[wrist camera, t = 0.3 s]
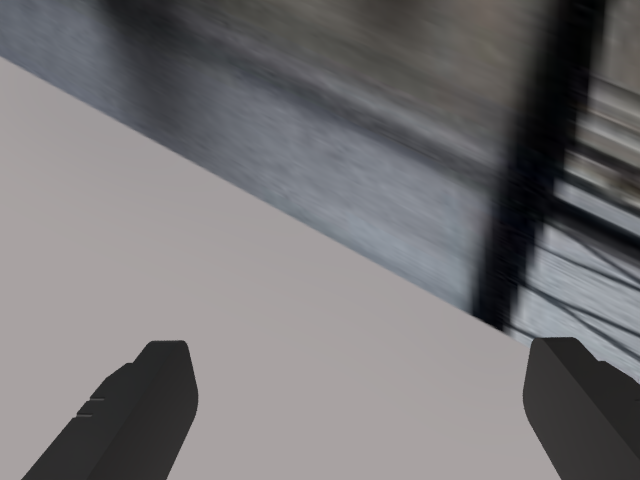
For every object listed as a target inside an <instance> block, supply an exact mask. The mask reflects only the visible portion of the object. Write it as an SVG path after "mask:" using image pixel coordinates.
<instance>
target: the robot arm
mask: <svg viewBox="0 0 640 480" xmlns="http://www.w3.org/2000/svg"><path fill="white" fill-rule="evenodd" d="M523 404H524V409H525V412H526V415H527V418H528V421H529V422H530V424H531V426H532V428H533V430H534V432H535V433H536V435H537V437H538V439H539V441H540V442H541V444H542V446H543V448H544V449H545V451H546V453H547V455H548V456H549V458H550V460H551V462H552V464H553V466H554V467H555V469H556V471H557V473H558V474H559V476H560V478H561V480H640V385H639V384H638V383H637V382H636V381H635V380H634V379H633V378H631V377H630V376H628V375H626V374H625V373H623V372H622V371H620V370H618V369H617V368H615V367H614V366H612V365H610V364H609V363H607V362H606V361H598V360H597V359H596V358H595V357H594V356H593V355H592V354H591V353H590V352H589V351H588V350H587V349H586V348H585V347H584V346H583V344H582V343H581V342H580V341H579V340H577V339H576V338H573V337H550V338H535V339H534V340H533V341H532V344H531V348H530V355H529V359H528V365H527V371H526V377H525V382H524V389H523ZM197 406H198V389H197V384H196V380H195V375H194V371H193V366H192V362H191V357H190V353H189V349H188V346H187V344H186V342H185V341H182V340H179V341H151V342H149V343H148V344H147V345H146V347H145V348H144V349H143V350H142V352H141V353H140V354H139V355H138V357H137V358H136V359H135V361H134V362H133V363H126V364H125V365H124V366H122V367H121V368H119V369H118V370H117V371H115V372H114V373H113V374H111V375H110V376H108V377H107V378H106V379H105V380H104V381H103V382H102V384H101V385H100V386H99V387H98V388H97V389H96V391H95V392H94V393H93V394H92V395H91V397H90V401H86V403H85V404H84V405H83V406H82V407H81V409H80V410H79V411H78V412H77V416H76V418H72V419H71V421H70V422H69V423H68V424H67V425H66V427H65V428H64V429H63V430H62V432H61V433H60V434H59V435H58V436H57V438H56V439H55V440H54V441H53V442H52V444H51V445H50V446H49V447H48V448H47V450H46V451H45V452H44V453H43V454H42V455H41V457H40V458H39V459H38V460H37V462H36V463H35V464H34V465H33V466H32V467H31V469H30V470H29V471H28V472H27V473H26V475H25V476H24V477H23V478H22V479H21V480H166V479H167V477H168V475H169V472H170V470H171V468H172V466H173V464H174V461H175V459H176V457H177V455H178V453H179V451H180V448H181V446H182V444H183V442H184V440H185V437H186V436H187V433H188V431H189V429H190V426H191V425H192V422H193V420H194V418H195V415H196V411H197Z"/></svg>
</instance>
